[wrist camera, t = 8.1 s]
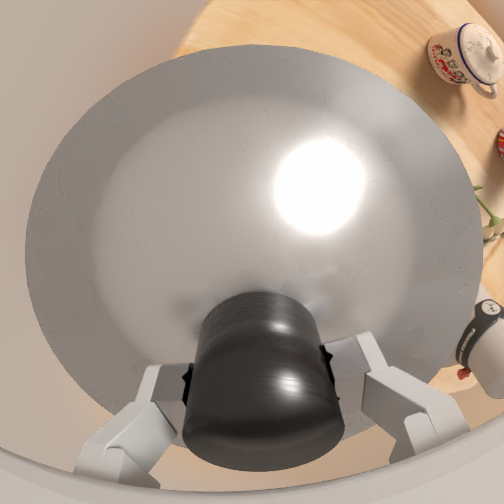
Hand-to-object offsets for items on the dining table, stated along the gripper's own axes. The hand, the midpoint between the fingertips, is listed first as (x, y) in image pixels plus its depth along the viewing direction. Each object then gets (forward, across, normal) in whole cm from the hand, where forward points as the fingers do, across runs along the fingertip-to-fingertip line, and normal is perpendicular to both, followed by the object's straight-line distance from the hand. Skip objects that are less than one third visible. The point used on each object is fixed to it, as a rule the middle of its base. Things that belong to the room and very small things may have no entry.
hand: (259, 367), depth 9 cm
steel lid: (+4, 0, 0) cm, 4 cm away
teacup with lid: (+33, -34, -14) cm, 50 cm away
